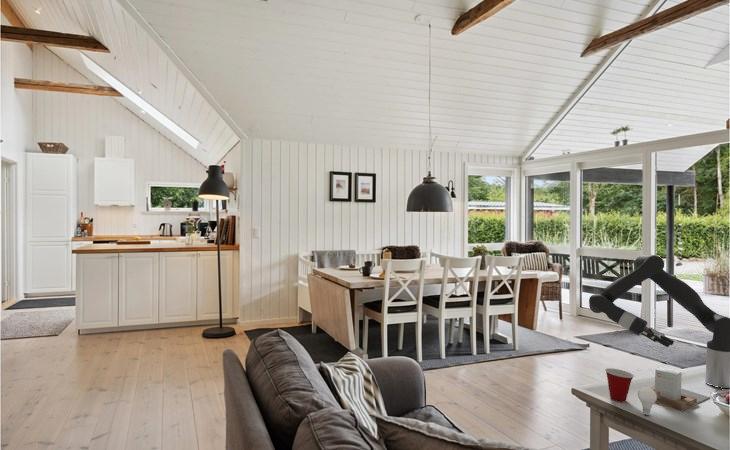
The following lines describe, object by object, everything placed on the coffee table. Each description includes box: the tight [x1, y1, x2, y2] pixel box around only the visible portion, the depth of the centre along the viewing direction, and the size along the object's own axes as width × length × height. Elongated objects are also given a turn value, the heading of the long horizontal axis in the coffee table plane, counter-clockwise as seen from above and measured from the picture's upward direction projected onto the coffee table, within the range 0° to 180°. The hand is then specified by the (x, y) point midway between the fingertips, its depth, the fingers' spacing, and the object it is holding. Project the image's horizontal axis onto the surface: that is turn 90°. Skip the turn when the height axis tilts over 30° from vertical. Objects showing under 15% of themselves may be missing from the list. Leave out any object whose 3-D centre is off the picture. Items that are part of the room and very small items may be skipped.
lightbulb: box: [637, 386, 657, 416], centre depth 173 cm, size 6×6×11 cm
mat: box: [681, 388, 711, 405], centre depth 194 cm, size 12×12×1 cm
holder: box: [649, 385, 697, 412], centre depth 188 cm, size 14×16×2 cm
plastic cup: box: [605, 367, 635, 403], centre depth 188 cm, size 11×11×12 cm
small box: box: [654, 366, 683, 401], centre depth 188 cm, size 8×6×13 cm
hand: (671, 344), depth 189 cm, fingers open, 8 cm apart
